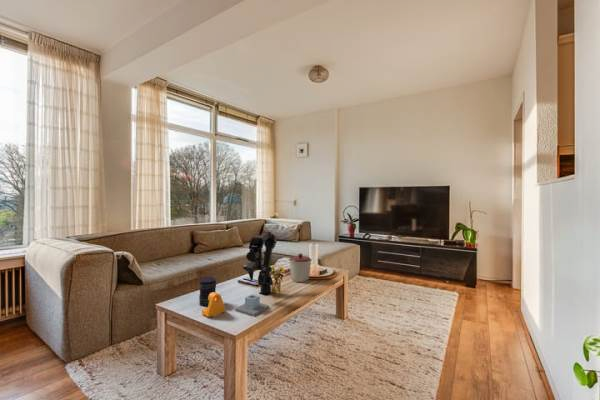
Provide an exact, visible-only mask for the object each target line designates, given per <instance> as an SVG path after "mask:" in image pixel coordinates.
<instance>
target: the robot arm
mask: <svg viewBox="0 0 600 400" xmlns="http://www.w3.org/2000/svg"><path fill="white" fill-rule="evenodd" d="M277 241H278V240H277V237H276V236H275V234H273V233H272V232H271V231H263V232H262V233H261V234H260V235H258V236H257V235H256V236H252V237H251V239H250V241H249V245H248V246H249V247H248V249H249V251H248V252H247V254H246V259H247V260H248V261H249V262H248V263H246V264H244V265H243V266H242V267H243V270H244V271H246V272H247V274H248V276H249V279H250V281H253V279H254V272H255V271H259V273H258V277H257V284H258V286H260V292H258V294H260V295H262V296H268V295H270V294H272V293H273V292H272V285H273V281H274V280H273V279H272V274H271V273H272V270H273V269H272V267H271V263H272V255H273V250H274V248H275V247H276V244H277ZM263 247H265V252H264V257H263Z"/></svg>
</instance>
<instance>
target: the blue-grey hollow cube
mask: <svg viewBox="0 0 600 400" xmlns="http://www.w3.org/2000/svg"><path fill="white" fill-rule="evenodd" d="M260 303H261V296H260V295H257V294H252V293H251V294H249V295H247V296H245V297H244V304H245V308H248V309H252V310H254V309H256V308H257V307H259V306H260Z"/></svg>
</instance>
